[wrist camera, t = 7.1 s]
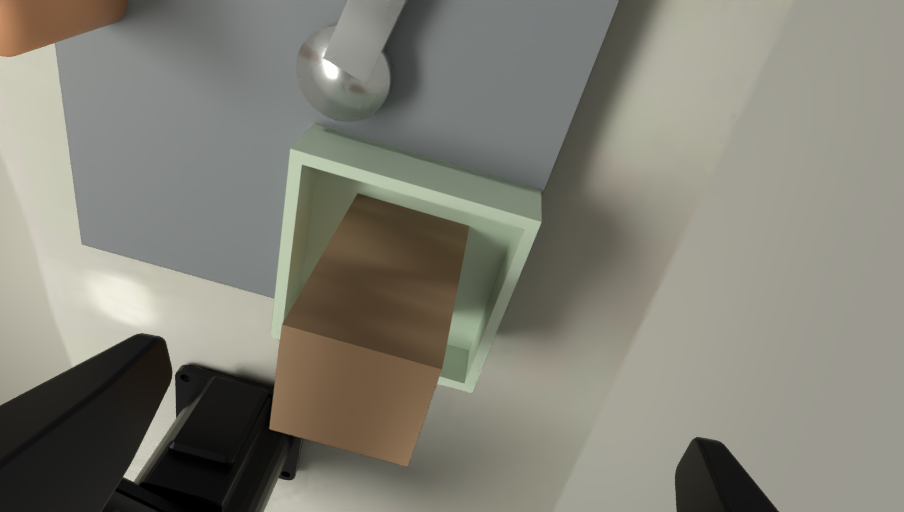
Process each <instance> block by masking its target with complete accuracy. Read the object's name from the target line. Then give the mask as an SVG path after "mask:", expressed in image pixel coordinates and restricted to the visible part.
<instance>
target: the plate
mask: <svg viewBox="0 0 904 512" xmlns="http://www.w3.org/2000/svg"><path fill="white" fill-rule="evenodd" d="M618 2H619V0H408V2H407V4H406V6H405V8H404V10H403V12H402V14H401V16H400V18H399V20H398V22H397V25H396V27H395V29H394V31H393V33H392V35H391V37H390V39H389V41H388V43H387V45H386V47H385V48H386V50H387V52H388V54H389V57H390V59H391V63H392V68H393V82H392V87H391V90H390V93H389V95H388V97H387V98H386V100H385V101H384V103H383V104H382V106H381V107H380V108H379V109H378V111H377V112H375V113H374V114H373V115H372V116H370V117H368V118H366V119H364V120H361V121H357V122H340V121H336V120H333V119H330V118H328V117H326V116H324V115H323V114H321V113H320V112H318V111H317V110H316V109H315V108H314V107H313V106H312V105H311V104H310V103H309V102H308V101H307V99H306V98H305V96H304V95H303V93H302V91H301V89H300V86H299V83H298V80H297V75H296V61H297V56H298V53H299V50H300V48H301V46H302V44H303V43H304V42H305V40H306V39H307V38H308V37H309V36H310V35H312V34H313V33H314V32H316V31H317V30H319V29H320V28H322V27H324V26H326V25H329V24H332V23H337V22H338V21H339V19H340V17H341V14H342V12H343V10H344V7H345V5H346V3H347V0H0V56H5V57H12V56H16V55H19V54H22V53H26V52H29V51H32V50H35V49H38V48H41V47H44V46H47V45H50V44H53V43H55V48H56V55H57V63H58V70H59V78H60V85H61V93H62V100H63V108H64V115H65V123H66V130H67V138H68V145H69V153H70V160H71V168H72V175H73V183H74V190H75V198H76V205H77V213H78V220H79V228H80V235H81V243H82V245H86V246H89V247H93V248H96V249H100V250H103V251H107V252H111V253H114V254H118V255H121V256H125V257H128V258H132V259H136V260H139V261H143V262H146V263H150V264H153V265H157V266H160V267H164V268H168V269H171V270H175V271H178V272H182V273H185V274H189V275H193V276H196V277H200V278H203V279H207V280H210V281H214V282H217V283H221V284H225V285H228V286H232V287H235V288H239V289H242V290H246V291H249V292H253V293H257V294H260V295H264V296H267V297H271V298H274V299H275V290H276V280H277V270H278V261H279V251H280V242H281V232H282V223H283V213H284V204H285V194H286V184H287V175H288V165H289V156H290V148H291V147H292V146H293V145H294V144H295V143H296V142H297V141H298V140H299V139H300V138H301V137H302V136H303V134H304V133H305V132H306V131H307V130H308V129H309V128H310V127H311V126H312V125H313V124H314V123H316V124H320V125H323V126H326V127H330V128H333V129H337V130H340V131H343V132H347V133H350V134H354V135H357V136H360V137H364V138H367V139H371V140H374V141H377V142H381V143H384V144H388V145H391V146H394V147H398V148H401V149H405V150H408V151H411V152H415V153H418V154H422V155H425V156H428V157H432V158H435V159H439V160H442V161H446V162H449V163H452V164H456V165H459V166H463V167H466V168H469V169H473V170H476V171H480V172H483V173H486V174H490V175H493V176H497V177H500V178H503V179H507V180H510V181H514V182H517V183H520V184H524V185H527V186H531V187H534V188H537V189H541V197H542V194H543V192H544V189H545V187H546V184H547V182H548V179H549V177H550V174H551V171H552V169H553V166H554V164H555V161H556V159H557V156H558V154H559V151H560V149H561V146H562V144H563V141H564V139H565V136H566V134H567V131H568V129H569V126H570V123H571V121H572V118H573V116H574V113H575V111H576V108H577V106H578V103H579V101H580V98H581V96H582V93H583V91H584V88H585V86H586V83H587V80H588V78H589V75H590V73H591V70H592V68H593V65H594V63H595V60H596V58H597V55H598V53H599V50H600V48H601V45H602V43H603V40H604V38H605V35H606V32H607V30H608V27H609V25H610V22H611V20H612V17H613V15H614V12H615V10H616V7H617V5H618Z"/></svg>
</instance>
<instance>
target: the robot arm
mask: <svg viewBox="0 0 904 512" xmlns="http://www.w3.org/2000/svg"><path fill="white" fill-rule="evenodd" d="M171 379H172V366H171V362H170V357H169V353H168V349H167V344H166V341H165V340H164V339H163V338H162V337H160V336H154V335H149V334H143V333H141V334H136V335H134V336H132V337H130V338H128V339H126V340H124V341H122V342H120V343H118V344H116V345H115V346H113V347H111V348H109V349H107V350H105V351H103V352H101V353H99V354H97V355H96V356H94V357H92V358H90V359H88V360H86V361H84V362H82V363H80V364H78V365H76V366H75V367H73V368H71V369H69V370H67V371H65V372H63V373H61V374H59V375H58V376H56V377H54V378H52V379H50V380H48V381H46V382H44V383H42V384H40V385H38V386H37V387H35V388H33V389H31V390H29V391H27V392H25V393H23V394H21V395H19V396H18V397H16V398H14V399H12V400H10V401H8V402H6V403H4V404H2V405H1V406H0V512H264V510H265V508H266V505H267V503H268V501H269V498H270V496H271V494H272V491H273V489H274V487H275V485H276V482H277V480H278V478H280V479H284V480H292V479H294V477H295V475H296V473H297V470H298V464H299V458H300V452H301V447H302V441H303V438H300V437H296V436H293V435H289V434H285V433H282V432H278V431H274V430H271V429H269V427H270V418H271V410H272V402H273V394H274V388H271V387H267V386H263V385H260V384H256V383H252V382H249V381H245V380H241V379H238V378H234V377H231V376H227V375H223V374H220V373H216V372H212V371H209V370H205V369H201V368H198V367H194V366H190V365H182V366H181V367H180V368H179V369H178V371H177V372H176V374H175V386H176V420H175V421H174V423H173V424H172V426H171V427H170V429H169V430H168V432H167V433H166V435H165V436H164V438H163V439H162V441H161V442H160V443H159V445H158V446H157V448H156V449H155V451H154V452H153V454H152V455H151V457H150V458H149V460H148V461H147V463H146V464H145V466H144V467H143V469H142V470H141V472H140V473H139V475H138V476H137V478H136V479H135V481H134V482H132V481H130V480H128V479H126V478H124V477H123V476H124V474H125V473H126V471H127V469H128V468H129V466H130V464H131V462H132V460H133V458H134V457H135V455H136V453H137V451H138V449H139V447H140V445H141V443H142V440H143V438H144V436H145V434H146V432H147V430H148V428H149V426H150V424H151V422H152V420H153V418H154V416H155V414H156V412H157V410H158V408H159V406H160V403H161V401H162V399H163V397H164V395H165V393H166V391H167V389H168V387H169V385H170V382H171ZM675 490H676V508H677V512H779V511H778V510H777V509H776V507H774V505H773V504H772V503H771V501H770V500H769V499H768V498H767V496H766V495H765V494H764V493H763V491H762V490H761V489H760V488H759V487H758V485H757V484H756V483H755V482H754V480H753V479H752V478H751V477H750V476H749V474H748V473H747V472H746V471H745V469H744V468H743V467H742V466H741V465H740V463H739V462H738V461H737V460H736V458H735V457H734V456H733V455H732V454H731V452H730V451H729V450H728V449H727V448H726V446H725V445H724V444H722V443H721V442H720V441H717V440H712V439H707V438H700V437H696V438H694V439H693V440H692V441H691V442H690V444H689V446H688V448H687V450H686V451H685V453H684V455H683V457H682V458H681V460H680V462H679V464H678V466H677V469H676V473H675Z"/></svg>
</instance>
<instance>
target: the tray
mask: <svg viewBox="0 0 904 512" xmlns="http://www.w3.org/2000/svg"><path fill="white" fill-rule="evenodd" d="M357 193H358V194H362V195H365V196H369V197H372V198H375V199H379V200H382V201H386V202H389V203H393V204H396V205H400V206H403V207H406V208H410V209H413V210H417V211H420V212H424V213H427V214H430V215H434V216H437V217H441V218H444V219H448V220H451V221H454V222H458V223H461V224H465V225H468V226H470V227H469V233H468V238H467V243H466V248H465V253H464V258H463V264H462V269H461V274H460V279H459V284H458V290H457V295H456V300H455V305H454V310H453V315H452V321H451V326H450V331H449V336H448V341H447V346H446V352H445V357H444V362H443V367H442V371H441V374H440V377H439V379H438V382H437V384H440V385H444V386H447V387H451V388H455V389H458V390H462V391H465V392H469V393H472V392H473V389H474V387H475V384H476V382H477V380H478V377H479V375H480V372H481V370H482V367H483V365H484V362H485V360H486V357H487V355H488V353H489V350H490V348H491V345H492V343H493V340H494V338H495V335H496V333H497V330H498V328H499V326H500V323H501V321H502V318H503V316H504V313H505V311H506V308H507V306H508V304H509V301H510V299H511V296H512V294H513V291H514V289H515V286H516V284H517V281H518V279H519V277H520V274H521V272H522V269H523V267H524V264H525V262H526V259H527V257H528V254H529V252H530V250H531V247H532V245H533V242H534V240H535V237H536V235H537V232H538V230H539V227H540V225H541V223H542V211H541V189H537V188H534V187H531V186H527V185H524V184H520V183H517V182H514V181H510V180H507V179H503V178H500V177H497V176H493V175H490V174H486V173H483V172H480V171H476V170H473V169H469V168H466V167H463V166H459V165H456V164H452V163H449V162H446V161H442V160H439V159H435V158H432V157H428V156H425V155H422V154H418V153H415V152H411V151H408V150H405V149H401V148H398V147H394V146H391V145H388V144H384V143H381V142H377V141H374V140H371V139H367V138H364V137H360V136H357V135H354V134H350V133H347V132H343V131H340V130H337V129H333V128H330V127H326V126H323V125H320V124H316V123H314V124H313V125H312V126H311V127H310V128H309V129H308V130H307V131H306V132H305V133H304V134H303V136H302V137H301V138H300V139H299V140H298V141H297V142H296V143H295V144H294V145H293V146H292V147H291V148H290V156H289V165H288V175H287V184H286V194H285V204H284V213H283V223H282V232H281V242H280V251H279V261H278V270H277V280H276V290H275V299H274V309H273V318H272V328H271V338H275V339H278V340H280V335H281V327H282V323H283V322H284V320H285V318H286V316H287V315H288V313H289V311H290V310H291V308H292V306H293V304H294V303H295V301H296V299H297V297H298V296H299V294H300V292H301V290H302V289H303V287H304V285H305V283H306V282H307V280H308V278H309V277H310V275H311V273H312V271H313V270H314V268H315V266H316V264H317V263H318V261H319V259H320V257H321V256H322V254H323V252H324V251H325V249H326V247H327V245H328V244H329V242H330V240H331V238H332V237H333V235H334V233H335V231H336V230H337V228H338V226H339V225H340V223H341V221H342V219H343V218H344V216H345V214H346V212H347V211H348V209H349V207H350V205H351V204H352V202H353V200H354V198H355V197H356V195H357Z"/></svg>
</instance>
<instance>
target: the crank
mask: <svg viewBox="0 0 904 512" xmlns="http://www.w3.org/2000/svg"><path fill="white" fill-rule="evenodd" d="M407 2H408V0H347V3H346V5H345V7H344V10H343V12H342V14H341V17H340V19H339V21H338V22H337V23H332V24H329V25H326V26H324V27H322V28H320V29H319V30H317V31H316V32H314V33H313V34H312V35H310V36H309V37H308V38H307V39H306V40H305V42H304V43H303V44H302V46H301V48H300V50H299V53H298V56H297V61H296V75H297V80H298V83H299V86H300V89H301V91H302V93H303V95H304V96H305V98H306V99H307V101H308V102H309V103H310V104H311V105H312V106H313V107H314V108H315V109H316V110H317V111H318V112H320V113H321V114H323V115H324V116H326V117H328V118H330V119H333V120H336V121H340V122H357V121H361V120H364V119H366V118H368V117H370V116H372V115H373V114H374V113H375V112H377V111H378V109H379V108H380V107H381V106H382V104H383V103H384V101H385V100H386V98H387V97H388V95H389V93H390V90H391V87H392V82H393V68H392V63H391V59H390V57H389V54H388V52H387V50H386V48H385V47H386V45H387V43H388V41H389V39H390V37H391V35H392V33H393V31H394V29H395V27H396V25H397V22H398V20H399V18H400V16H401V14H402V12H403V10H404V8H405V6H406V4H407Z"/></svg>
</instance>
